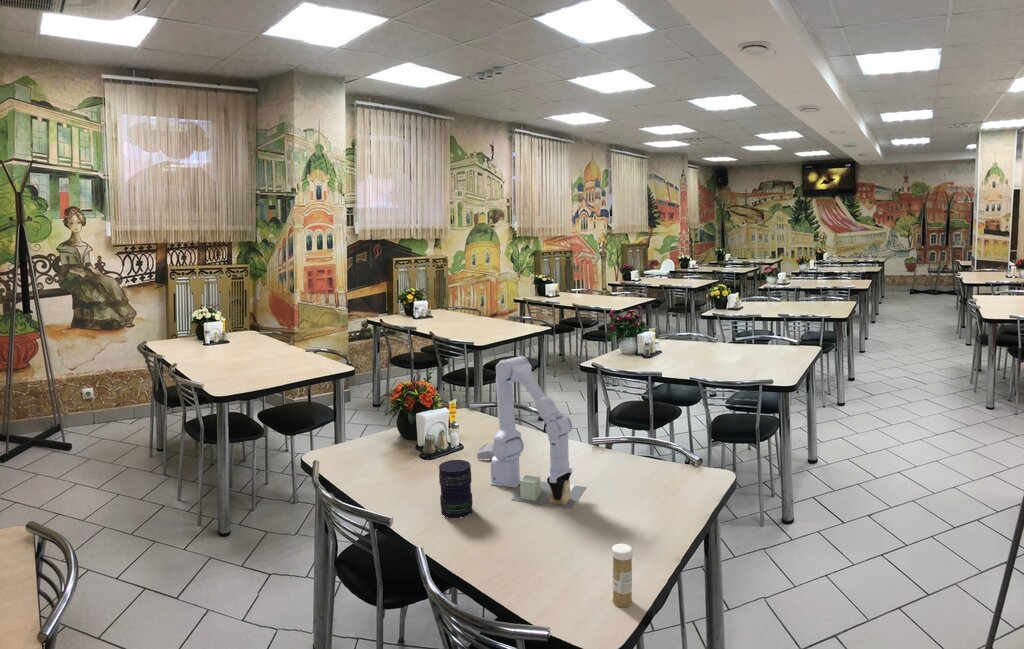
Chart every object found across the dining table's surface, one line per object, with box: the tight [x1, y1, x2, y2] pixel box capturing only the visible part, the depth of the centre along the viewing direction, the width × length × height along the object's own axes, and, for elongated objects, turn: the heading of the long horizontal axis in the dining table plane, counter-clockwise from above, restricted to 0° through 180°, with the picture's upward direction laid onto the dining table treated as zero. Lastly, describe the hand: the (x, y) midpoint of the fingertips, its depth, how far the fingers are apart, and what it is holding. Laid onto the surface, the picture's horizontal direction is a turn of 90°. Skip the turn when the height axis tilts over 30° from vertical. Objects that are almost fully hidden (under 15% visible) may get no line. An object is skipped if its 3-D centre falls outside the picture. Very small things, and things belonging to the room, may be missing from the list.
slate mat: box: [511, 480, 587, 509], centre depth 208 cm, size 20×17×1 cm
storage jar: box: [438, 459, 474, 519], centre depth 196 cm, size 10×10×15 cm
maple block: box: [550, 479, 571, 505], centre depth 202 cm, size 5×5×6 cm
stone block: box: [476, 442, 495, 460], centre depth 245 cm, size 12×5×10 cm
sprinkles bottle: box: [611, 543, 633, 608], centre depth 146 cm, size 5×5×14 cm
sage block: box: [519, 475, 541, 501], centre depth 206 cm, size 5×5×6 cm
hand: (560, 496), depth 202 cm, fingers closed on maple block, 5 cm apart
